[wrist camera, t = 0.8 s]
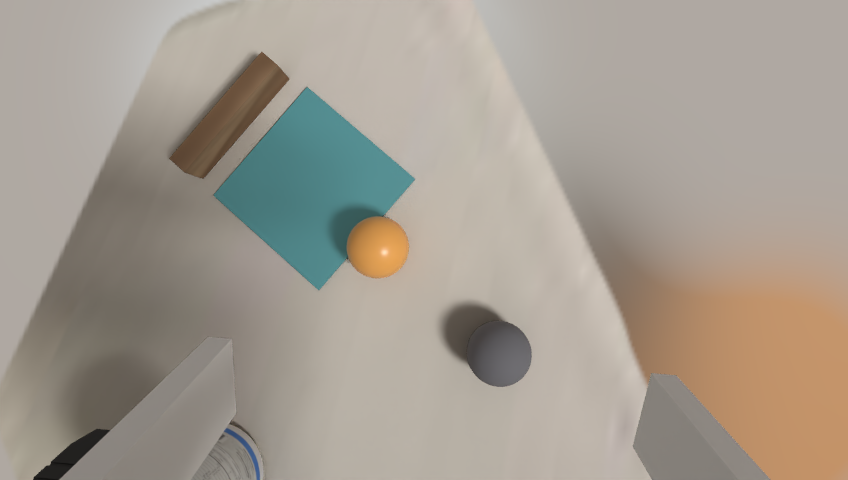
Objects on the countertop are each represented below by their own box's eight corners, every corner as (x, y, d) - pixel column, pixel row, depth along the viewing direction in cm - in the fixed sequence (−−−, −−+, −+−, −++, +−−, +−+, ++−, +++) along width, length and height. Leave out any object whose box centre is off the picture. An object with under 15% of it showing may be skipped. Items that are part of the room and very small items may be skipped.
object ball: (423, 245, 41) (419, 242, 35) (385, 289, 41) (375, 293, 35) (380, 207, 41) (369, 199, 36) (342, 251, 41) (326, 249, 36)
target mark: (415, 179, 41) (414, 178, 41) (319, 289, 41) (318, 290, 41) (307, 87, 42) (307, 87, 42) (214, 195, 42) (213, 195, 42)
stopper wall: (289, 78, 42) (277, 65, 40) (203, 178, 42) (184, 172, 39) (274, 66, 43) (261, 51, 40) (188, 165, 43) (169, 158, 40)
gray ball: (537, 344, 40) (551, 357, 34) (498, 389, 40) (506, 409, 34) (492, 304, 40) (498, 311, 35) (453, 349, 40) (454, 363, 35)
